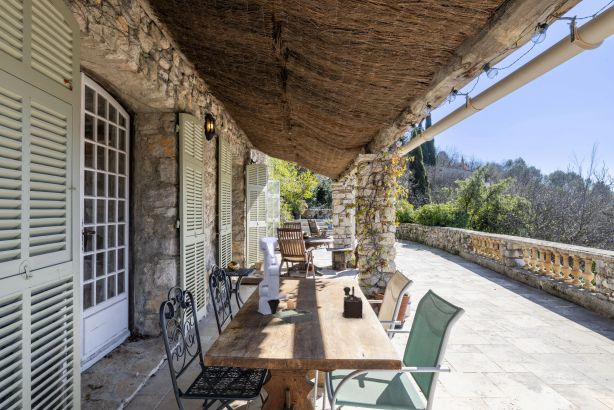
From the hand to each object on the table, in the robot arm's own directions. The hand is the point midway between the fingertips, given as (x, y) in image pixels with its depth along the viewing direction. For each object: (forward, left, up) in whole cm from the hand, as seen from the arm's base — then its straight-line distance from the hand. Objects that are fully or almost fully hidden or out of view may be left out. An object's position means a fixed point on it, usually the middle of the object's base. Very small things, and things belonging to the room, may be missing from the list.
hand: (273, 314), depth 184 cm
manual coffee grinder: (+12, +44, -6) cm, 46 cm away
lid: (0, +7, -2) cm, 7 cm away
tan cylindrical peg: (-8, +15, -4) cm, 18 cm away
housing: (-4, +15, -5) cm, 17 cm away
